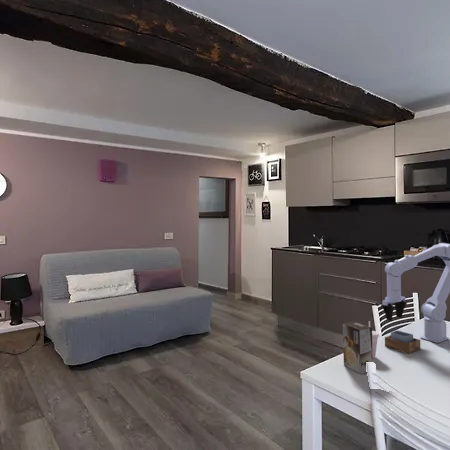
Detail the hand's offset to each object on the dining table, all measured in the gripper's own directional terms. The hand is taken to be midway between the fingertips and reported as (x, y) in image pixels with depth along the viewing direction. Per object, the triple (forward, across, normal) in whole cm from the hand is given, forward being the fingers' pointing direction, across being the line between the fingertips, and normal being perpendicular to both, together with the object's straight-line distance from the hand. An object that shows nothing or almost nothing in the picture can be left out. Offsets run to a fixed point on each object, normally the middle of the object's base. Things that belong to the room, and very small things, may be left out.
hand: (394, 318), depth 160 cm
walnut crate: (+9, +7, +8) cm, 14 cm away
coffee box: (+10, +39, +10) cm, 41 cm away
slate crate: (+9, +7, +8) cm, 14 cm away
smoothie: (+10, +26, +6) cm, 28 cm away
